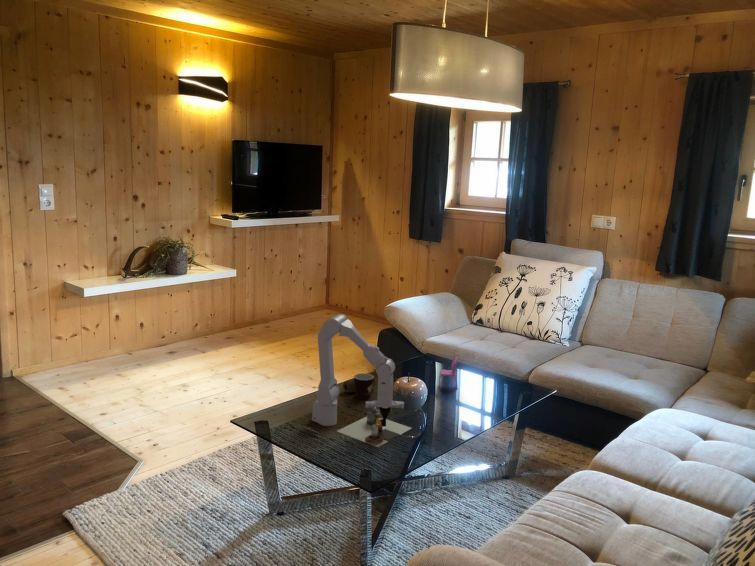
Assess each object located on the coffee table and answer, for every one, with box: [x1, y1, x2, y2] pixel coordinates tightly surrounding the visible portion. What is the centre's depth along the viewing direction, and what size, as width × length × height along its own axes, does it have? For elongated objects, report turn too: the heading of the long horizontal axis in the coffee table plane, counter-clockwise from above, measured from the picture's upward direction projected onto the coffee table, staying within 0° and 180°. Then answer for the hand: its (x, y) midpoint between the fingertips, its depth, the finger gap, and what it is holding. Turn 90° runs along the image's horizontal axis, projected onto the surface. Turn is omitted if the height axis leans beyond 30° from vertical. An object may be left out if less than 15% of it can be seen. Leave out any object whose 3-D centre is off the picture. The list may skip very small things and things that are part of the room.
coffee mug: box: [353, 372, 375, 400], centre depth 270 cm, size 12×9×10 cm
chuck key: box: [371, 425, 379, 440], centre depth 226 cm, size 2×4×6 cm, turn 143°
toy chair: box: [438, 356, 459, 391], centre depth 287 cm, size 8×9×15 cm
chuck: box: [366, 407, 383, 426], centre depth 242 cm, size 6×6×6 cm
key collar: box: [365, 435, 384, 445], centre depth 227 cm, size 5×5×2 cm
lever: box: [375, 418, 383, 432], centre depth 236 cm, size 6×3×4 cm, turn 12°
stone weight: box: [342, 377, 377, 394], centre depth 278 cm, size 15×7×7 cm, turn 128°
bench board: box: [336, 416, 413, 448], centre depth 237 cm, size 20×22×1 cm
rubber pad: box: [378, 429, 401, 442], centre depth 232 cm, size 7×7×1 cm
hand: (384, 425), depth 234 cm, fingers closed, pressing on lever
